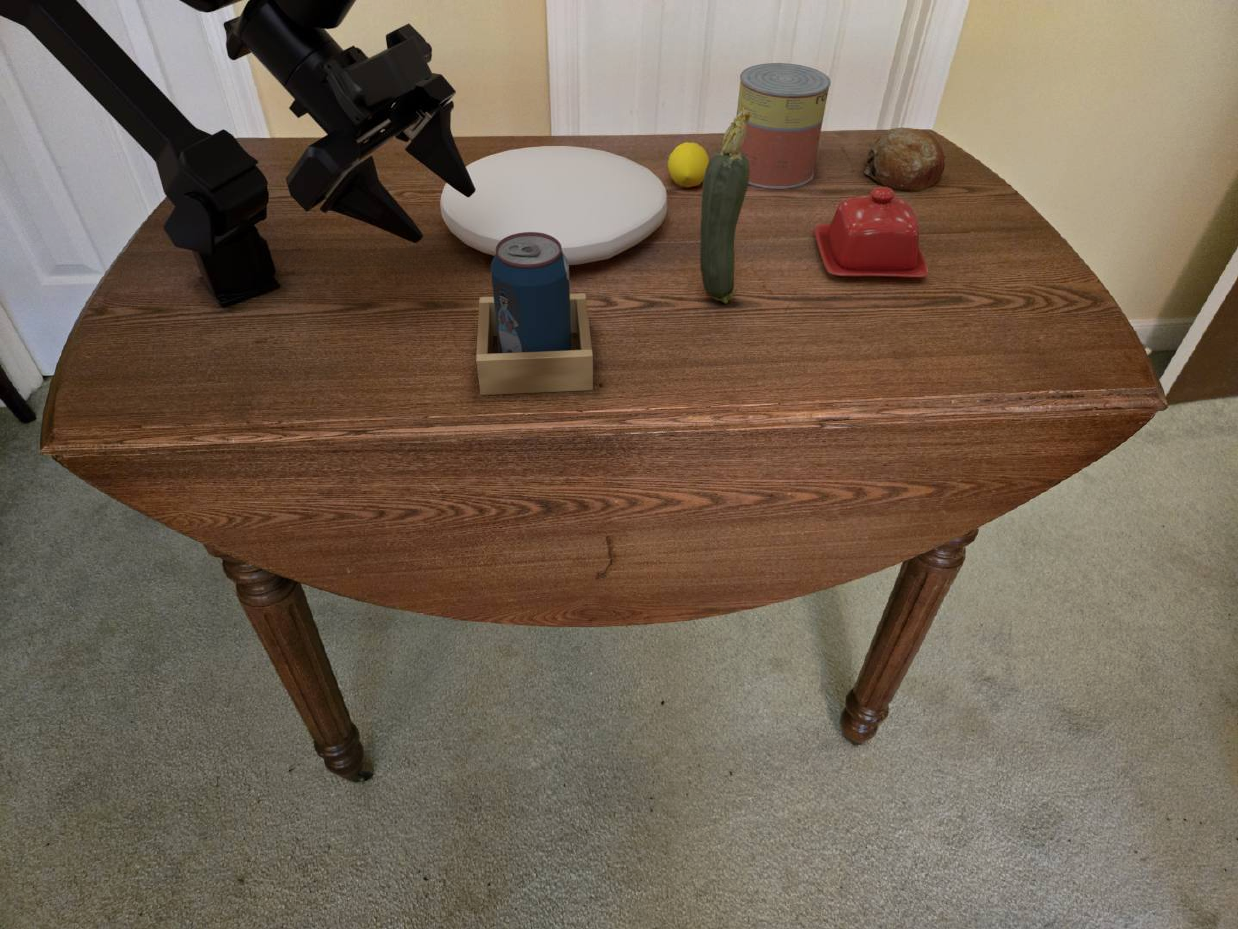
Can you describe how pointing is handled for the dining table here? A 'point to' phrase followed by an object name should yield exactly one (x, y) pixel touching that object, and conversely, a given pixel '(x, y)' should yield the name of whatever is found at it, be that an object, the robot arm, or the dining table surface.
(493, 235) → the plate
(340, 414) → the dining table surface
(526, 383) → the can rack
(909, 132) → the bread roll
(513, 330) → the soda can
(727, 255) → the vegetable
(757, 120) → the canned food
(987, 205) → the dining table surface
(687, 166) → the lemon
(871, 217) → the butter dish
